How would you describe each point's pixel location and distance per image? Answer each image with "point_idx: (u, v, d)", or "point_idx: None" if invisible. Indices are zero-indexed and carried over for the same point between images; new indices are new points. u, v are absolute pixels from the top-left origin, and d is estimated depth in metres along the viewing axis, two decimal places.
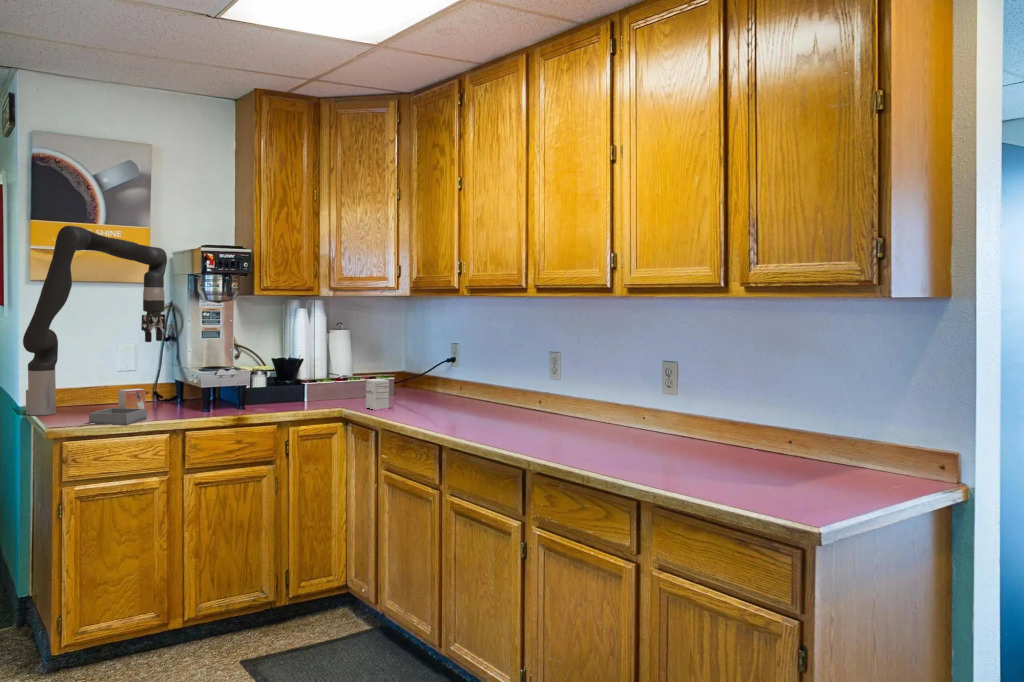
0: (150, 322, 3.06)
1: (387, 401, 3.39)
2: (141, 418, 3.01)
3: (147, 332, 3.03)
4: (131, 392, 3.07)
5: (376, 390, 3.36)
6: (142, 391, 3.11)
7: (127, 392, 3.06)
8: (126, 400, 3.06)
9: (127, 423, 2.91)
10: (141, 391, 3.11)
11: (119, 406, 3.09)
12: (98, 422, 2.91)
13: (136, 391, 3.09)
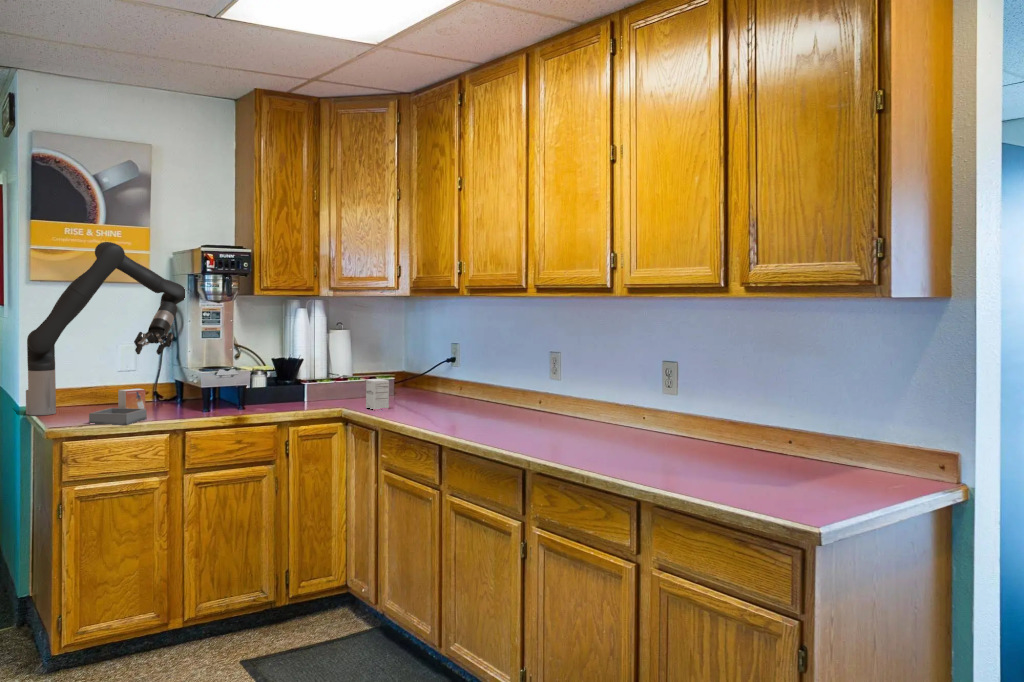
0: None
1: (387, 401, 3.39)
2: (141, 418, 3.01)
3: (164, 347, 3.24)
4: (131, 392, 3.07)
5: (376, 390, 3.36)
6: (142, 391, 3.11)
7: (127, 392, 3.06)
8: (126, 400, 3.06)
9: (127, 423, 2.91)
10: (141, 391, 3.11)
11: (119, 406, 3.09)
12: (98, 422, 2.91)
13: (136, 391, 3.09)
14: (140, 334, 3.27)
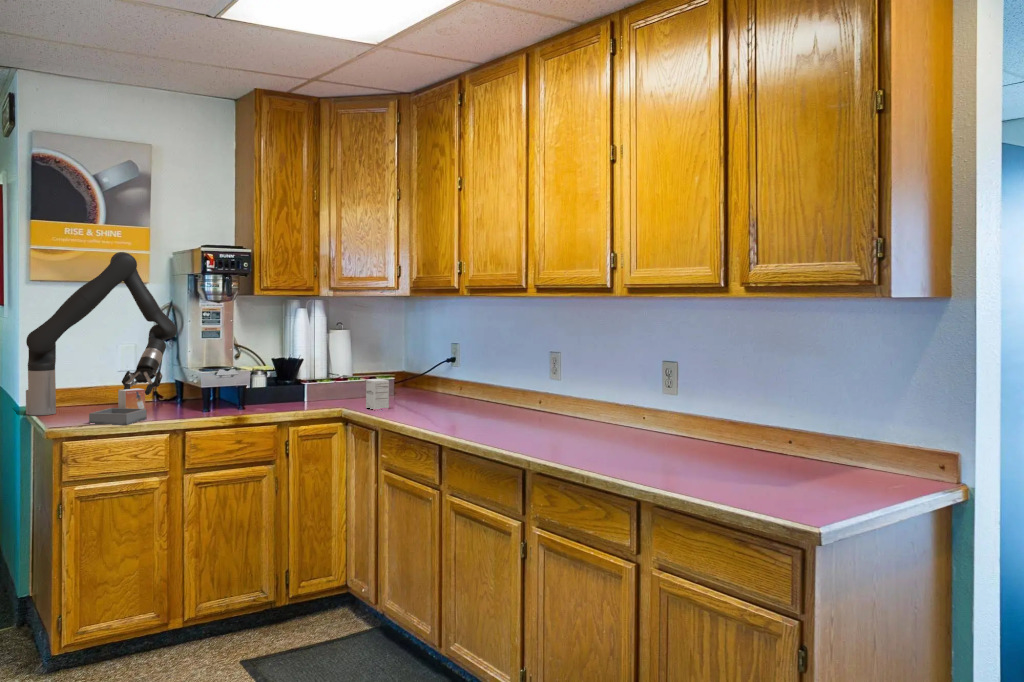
0: (149, 379, 3.18)
1: (387, 401, 3.39)
2: (141, 418, 3.01)
3: (152, 386, 3.15)
4: (131, 391, 3.07)
5: (376, 390, 3.36)
6: (142, 391, 3.11)
7: (127, 392, 3.06)
8: (126, 400, 3.06)
9: (127, 423, 2.91)
10: (141, 391, 3.11)
11: (119, 406, 3.09)
12: (98, 422, 2.91)
13: (136, 391, 3.09)
14: (128, 373, 3.18)
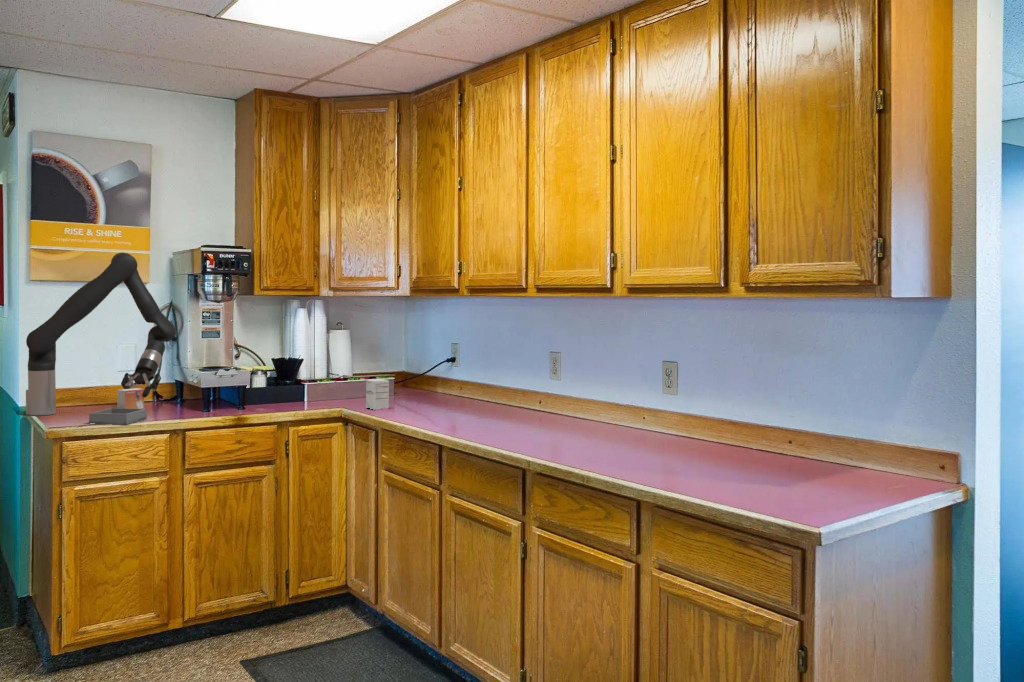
0: (148, 381, 3.17)
1: (387, 401, 3.39)
2: (141, 418, 3.01)
3: (150, 388, 3.14)
4: (130, 391, 3.07)
5: (376, 390, 3.36)
6: (141, 391, 3.11)
7: (126, 392, 3.06)
8: (125, 400, 3.06)
9: (127, 423, 2.91)
10: (140, 391, 3.11)
11: (118, 406, 3.09)
12: (98, 422, 2.91)
13: (135, 391, 3.09)
14: (127, 375, 3.17)
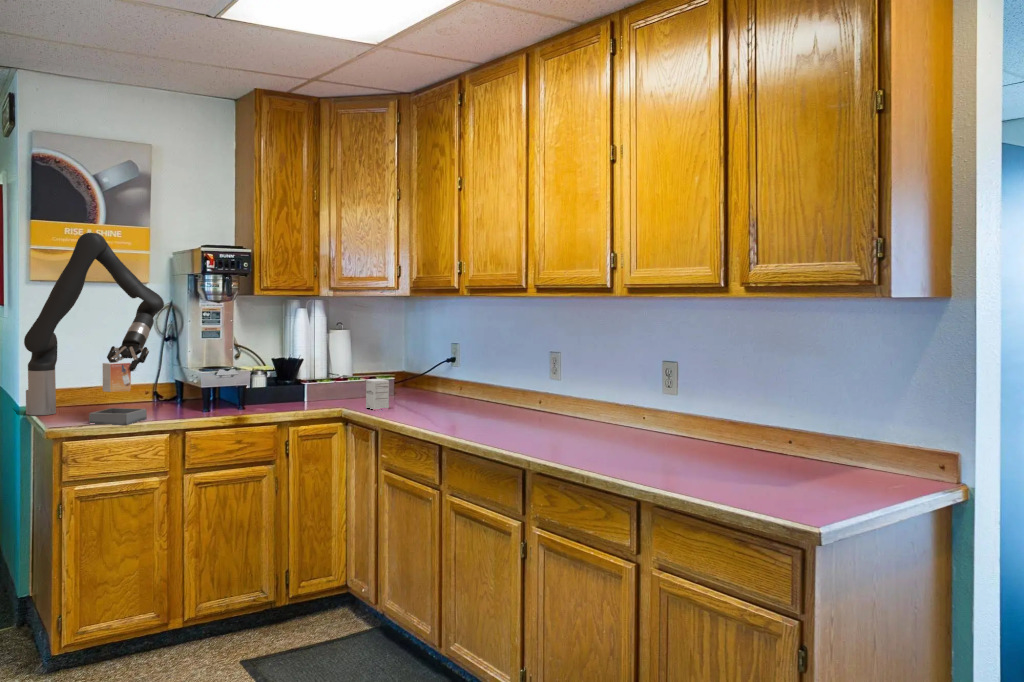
0: None
1: (387, 401, 3.39)
2: (141, 418, 3.01)
3: (137, 362, 3.01)
4: (116, 365, 2.94)
5: (376, 390, 3.36)
6: (127, 364, 2.98)
7: (112, 365, 2.93)
8: (110, 373, 2.93)
9: (127, 423, 2.91)
10: (126, 365, 2.97)
11: (103, 380, 2.95)
12: (98, 422, 2.91)
13: (121, 364, 2.96)
14: (113, 349, 3.04)
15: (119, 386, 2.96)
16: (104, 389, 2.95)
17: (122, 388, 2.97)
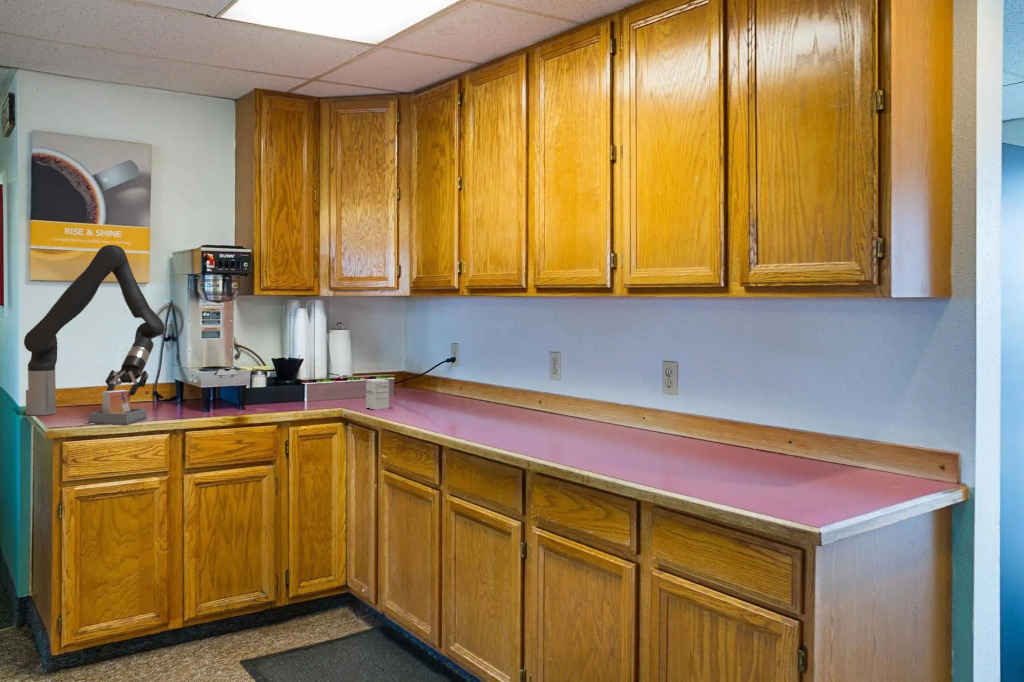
0: (134, 379, 3.03)
1: (387, 401, 3.39)
2: (141, 418, 3.01)
3: (137, 387, 3.01)
4: (115, 393, 2.94)
5: (376, 390, 3.36)
6: (127, 392, 2.98)
7: (111, 393, 2.93)
8: (110, 402, 2.93)
9: (127, 423, 2.91)
10: (126, 393, 2.98)
11: (103, 408, 2.95)
12: (98, 422, 2.91)
13: (121, 392, 2.96)
14: (112, 373, 3.04)
15: None
16: None
17: None
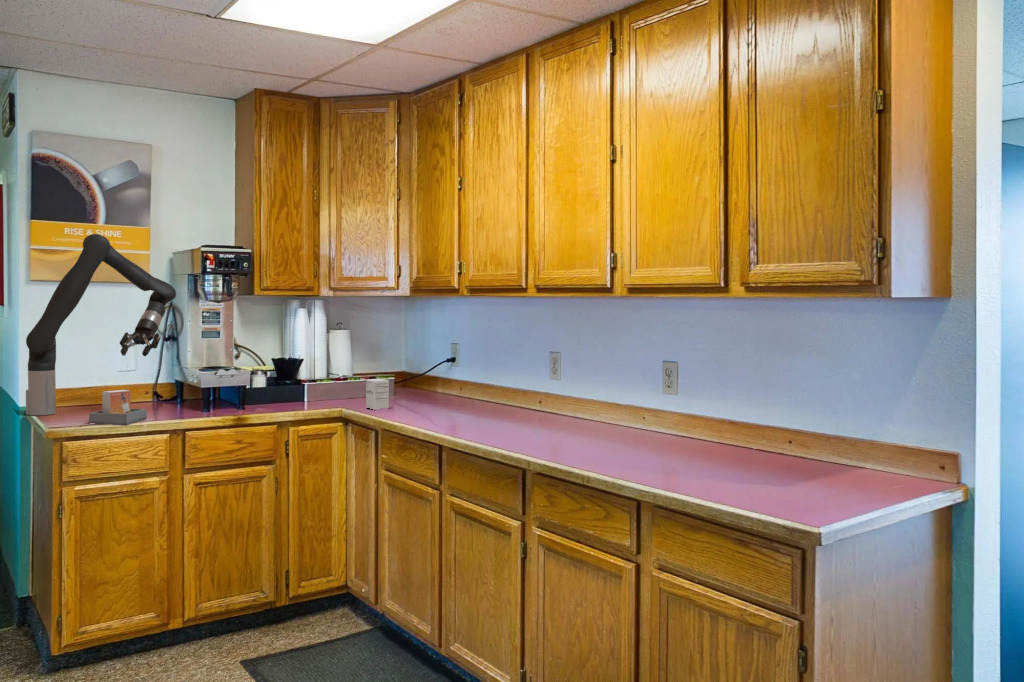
0: (147, 340, 3.17)
1: (387, 401, 3.39)
2: (141, 418, 3.01)
3: (150, 348, 3.14)
4: (115, 393, 2.94)
5: (376, 390, 3.36)
6: (127, 392, 2.98)
7: (111, 393, 2.93)
8: (110, 402, 2.93)
9: (127, 423, 2.91)
10: (126, 393, 2.98)
11: (103, 408, 2.95)
12: (98, 422, 2.91)
13: (121, 392, 2.96)
14: (126, 335, 3.17)
15: None
16: None
17: None
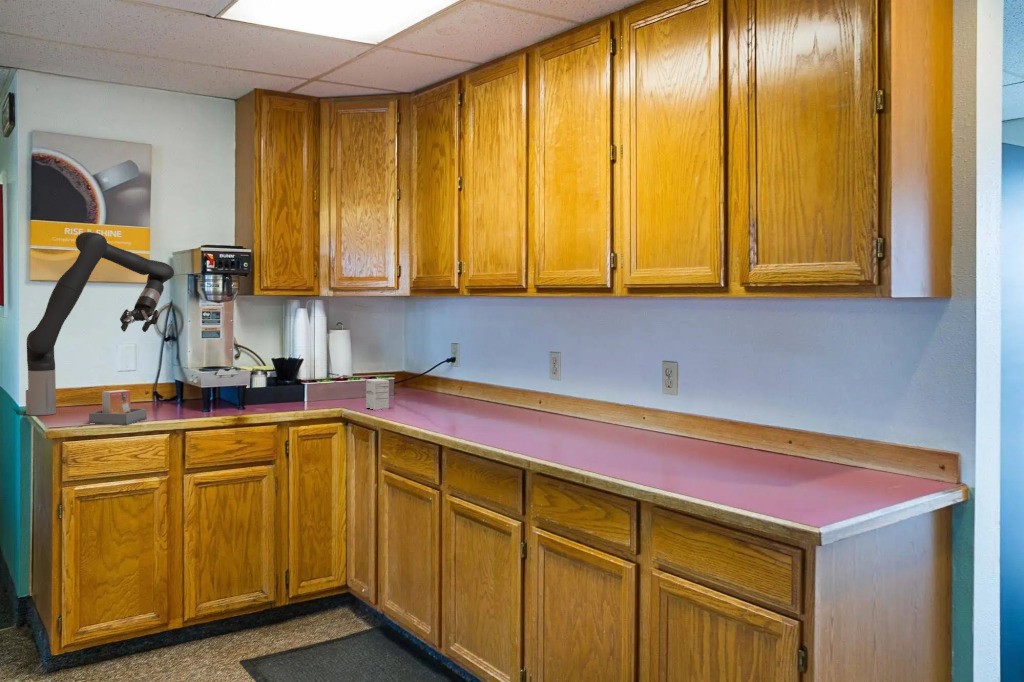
0: (147, 317, 3.27)
1: (387, 401, 3.39)
2: (141, 418, 3.01)
3: (150, 324, 3.24)
4: (115, 393, 2.94)
5: (376, 390, 3.36)
6: (127, 392, 2.98)
7: (111, 393, 2.93)
8: (110, 402, 2.93)
9: (127, 423, 2.91)
10: (126, 393, 2.98)
11: (103, 408, 2.95)
12: (98, 422, 2.91)
13: (121, 392, 2.96)
14: (126, 312, 3.28)
15: None
16: None
17: None
